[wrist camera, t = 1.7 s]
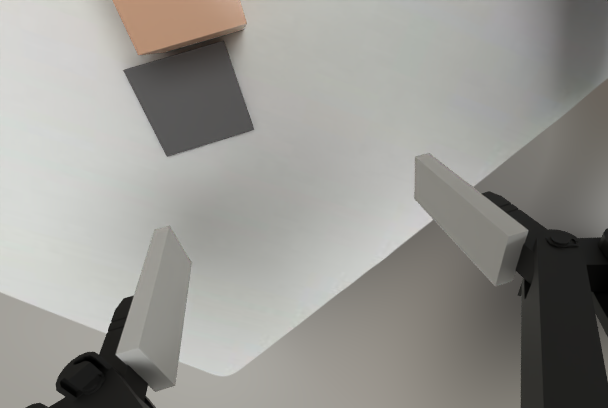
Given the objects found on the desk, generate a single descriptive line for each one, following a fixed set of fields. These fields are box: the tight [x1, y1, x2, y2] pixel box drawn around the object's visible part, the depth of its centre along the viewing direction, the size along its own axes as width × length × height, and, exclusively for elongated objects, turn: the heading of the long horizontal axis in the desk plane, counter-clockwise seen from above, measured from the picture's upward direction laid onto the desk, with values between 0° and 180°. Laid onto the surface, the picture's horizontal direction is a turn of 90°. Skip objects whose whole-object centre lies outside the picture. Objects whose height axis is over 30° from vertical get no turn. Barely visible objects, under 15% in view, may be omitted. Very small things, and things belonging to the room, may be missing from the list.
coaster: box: [123, 41, 254, 156], centre depth 36 cm, size 11×10×1 cm
